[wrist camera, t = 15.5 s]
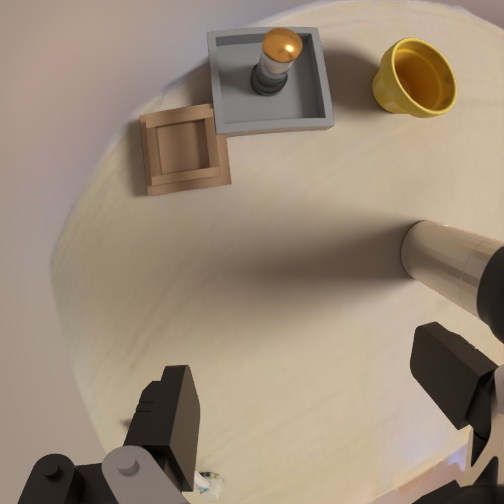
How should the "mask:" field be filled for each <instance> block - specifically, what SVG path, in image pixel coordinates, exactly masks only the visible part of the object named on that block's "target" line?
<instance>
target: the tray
mask: <svg viewBox="0 0 504 504" xmlns="http://www.w3.org/2000/svg"><path fill="white" fill-rule="evenodd" d="M275 28H286V29H289V30H292V31H293V32H295V33H296V34H297V35H298V36H299V37H300V39H301V41H302V50H301V52H300V54H299V55H298V57H297V58H296V59H295V60H294V62H293V64H292V65H291V67H290V69H289V71H288V72H287V74H288V79H287V82H286V84H285V86H284V88H283V89H282V91H281V92H280V93H278V94H277V95H275V96H271V97H266V96H261V95H259V94H257V93H256V92H255V91H254V90H253V89H252V87H251V85H250V77H251V72H252V69H253V67H254V66H255V65H256V64H257V63H258V62H259V58H260V54H261V50H262V42H263V38H264V36H265V34H266V33H267V32H268V31H270V30H272V29H275ZM207 40H208V52H209V63H210V73H211V84H212V94H213V104H214V113H215V123H216V132H217V135H219V134H226V137H234V136H243V135H253V134H264V133H277V132H292V131H313V130H327V129H329V128H331V127H333V126H335V124H334V117H333V110H332V103H331V96H330V90H329V84H328V78H327V73H326V67H325V62H324V57H323V51H322V47H321V42H320V37H319V32H318V28H313V27H257V28H241V29H229V30H220V31H212V32H207Z"/></svg>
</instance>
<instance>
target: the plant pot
mask: <svg viewBox="0 0 504 504" xmlns="http://www.w3.org/2000/svg"><path fill="white" fill-rule="evenodd" d="M372 91H373V95H374V97H375V99H376V101H377V102H378V103H379V105H380V106H381V107H383V108H384V109H385V110H387V111H389V112H391V113H396V114H410V115H412V116H415V117H418V118H429V117H434V116H438V115H442V114H444V113H446V112H448V111H449V110H450V109H451V108H452V107H453V105H454V103H455V100H456V96H457V84H456V79H455V76H454V73H453V71H452V69H451V67H450V65H449V63H448V62H447V60H446V59H445V57H444V56H443V55H442V54H441V53H440V52H439V51H438V50H437V49H436V48H435V47H433V46H432V45H430V44H429V43H427V42H425V41H423V40H420V39H417V38H405V39H402V40H400V41H398V42H397V43H395V44H394V45H393V46H392V47H390V48H389V49H388V50H387V51H386V52H385V54H384V55H383V57H382V59H381V63H380V69H379V71H378V72H377V74H376V75H375V77H374V79H373V82H372Z"/></svg>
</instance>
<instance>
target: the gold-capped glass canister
mask: <svg viewBox="0 0 504 504" xmlns="http://www.w3.org/2000/svg"><path fill="white" fill-rule="evenodd" d="M301 50H302V41H301V39H300V37H299V36H298V35H297V34H296V33H295V32H293V31H292V30H289V29H286V28H275V29H272V30H270V31H268V32H267V33H266V34H265V36H264V38H263V42H262V50H261V54H260V58H259V62H258V63H257V64H256V65H255V66H254V67H253V69H252V72H251V77H250V85H251V87H252V89H253V90H254V91H255V92H256V93H257V94H259V95H261V96H266V97H271V96H275V95H277V94H278V93H280V92H281V91H282V89H283V88H284V86H285V84H286V82H287V79H288V74H287V72H288V71H289V69H290V67H291V65H292V64H293V62H294V60H295V59H296V58H297V57H298V55H299V54H300V52H301Z"/></svg>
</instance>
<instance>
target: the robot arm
mask: <svg viewBox="0 0 504 504" xmlns="http://www.w3.org/2000/svg"><path fill="white" fill-rule="evenodd" d="M401 261H402V265H403V267H404V269H405V271H406V272H407V273H408V274H409V275H410V276H411V277H413V278H415V279H416V280H418V281H420V282H421V283H423V284H424V285H426V286H428V287H429V288H431V289H433V290H434V291H436V292H438V293H439V294H441V295H442V296H444V297H446V298H447V299H449V300H450V301H452V302H454V303H455V304H457V305H458V306H460V307H461V308H463V309H465V310H466V311H468V312H469V313H471V314H472V315H474V316H476V317H477V318H479V319H480V320H482V321H483V322H485V323H486V324H487V325H489V327H490V329H491V331H492V333H493V334H494V335H495V337H496V338H497V339H498V340H500V341H501V342H502V343H503V344H504V242H501V241H498V240H495V239H491V238H488V237H485V236H481V235H478V234H475V233H471V232H468V231H465V230H461V229H458V228H454V227H450V226H447V225H444V224H440V223H436V222H432V221H421V222H419V223H417V224H415V225H414V226H413V227H412V228H411V229H410V230H409V231H408V233H407V234H406V236H405V238H404V240H403V244H402V247H401ZM410 369H411V373H412V375H413V377H414V378H415V379H416V380H417V381H418V383H419V384H420V385H421V386H422V387H423V389H424V390H425V391H426V392H427V393H428V395H429V396H430V397H431V398H432V399H433V401H434V402H435V403H436V404H437V405H438V407H439V408H440V409H441V410H442V412H443V413H444V414H445V415H446V416H447V418H448V419H449V420H450V421H451V423H452V424H453V425H454V426H455V428H456V429H457V430H460V429H462V428H464V427H465V426H467V425H469V424H470V425H471V426H472V428H471V430H470V432H469V440H468V451H467V460H466V468H465V474H464V478H463V480H462V482H461V485H460V486H459V484H458V483H457V481H456V480H453V481H452V482H450V483H448V484H446V485H444V486H442V487H440V488H438V489H436V490H434V491H432V492H430V493H428V494H426V495H424V496H422V497H421V498H419V499H418V500H416V501H415V502H414V503H412V504H504V365H501V366H498V365H496V364H495V363H494V362H493V361H492V360H490V359H489V358H488V357H487V356H485V355H484V354H483V353H482V352H480V351H479V350H478V349H475V347H474V346H473V345H472V344H470V343H468V341H467V340H465V339H464V338H463V337H461V336H460V335H458V334H456V333H453V332H450V331H448V330H447V329H445V328H444V327H443V326H442V325H440V324H439V323H438V322H431V323H428V324H424V325H421V326H418V327H417V328H416V330H415V334H414V341H413V347H412V353H411V359H410ZM199 423H200V404H199V399H198V395H197V392H196V388H195V385H194V381H193V377H192V374H191V370H190V367H189V366H188V365H176V366H166V367H165V369H164V372H163V375H162V378H161V381H152V382H151V383H150V384H149V385H148V386H147V387H146V388H145V389H144V390H143V391H142V394H141V397H140V400H139V404H138V405H137V408H136V413H134V416H133V419H132V422H131V424H130V427H129V430H128V433H127V436H126V439H125V441H124V444H123V446H122V447H119V448H116V449H114V450H112V451H111V452H110V453H108V454H107V456H106V457H105V458H104V460H103V462H102V463H98V464H89V465H79V466H75V465H74V464H73V462H72V461H71V460H70V459H69V458H68V457H66V456H64V455H61V454H49V455H46V456H44V457H42V458H41V459H40V460H38V461H37V462H36V464H35V465H34V467H33V469H32V471H31V474H30V476H29V478H28V480H27V482H26V485H25V487H24V489H23V492H22V494H21V496H20V499H19V501H18V504H190V503H189V502H188V501H187V500H186V499H185V497H184V496H183V495H182V491H184V492H193V487H194V475H195V464H196V453H197V443H198V433H199Z"/></svg>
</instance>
